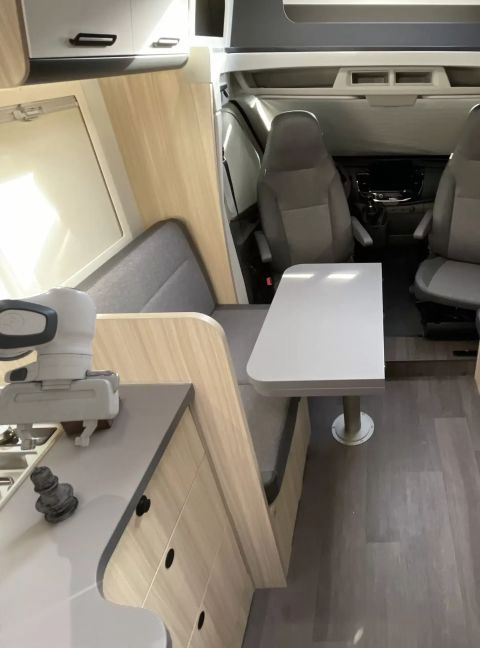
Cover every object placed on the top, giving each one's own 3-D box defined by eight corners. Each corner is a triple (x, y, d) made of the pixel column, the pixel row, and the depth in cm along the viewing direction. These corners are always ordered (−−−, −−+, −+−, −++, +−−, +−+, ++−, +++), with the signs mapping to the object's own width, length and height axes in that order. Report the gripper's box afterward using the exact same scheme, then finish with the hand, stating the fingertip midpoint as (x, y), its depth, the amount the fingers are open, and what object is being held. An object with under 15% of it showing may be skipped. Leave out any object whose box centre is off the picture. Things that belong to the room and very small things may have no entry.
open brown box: (66, 435, 97) (58, 419, 94) (80, 406, 104) (73, 391, 102) (110, 427, 99) (103, 412, 96) (121, 400, 106) (114, 385, 104)
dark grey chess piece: (81, 513, 81) (56, 470, 75) (43, 530, 78) (14, 488, 72) (79, 489, 86) (55, 447, 79) (42, 505, 83) (15, 463, 77)
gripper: (128, 370, 88) (122, 443, 85) (20, 375, 87) (10, 449, 83) (111, 367, 82) (104, 446, 78) (-5, 373, 80) (-18, 453, 77)
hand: (54, 448), depth 81 cm, fingers open, 8 cm apart
